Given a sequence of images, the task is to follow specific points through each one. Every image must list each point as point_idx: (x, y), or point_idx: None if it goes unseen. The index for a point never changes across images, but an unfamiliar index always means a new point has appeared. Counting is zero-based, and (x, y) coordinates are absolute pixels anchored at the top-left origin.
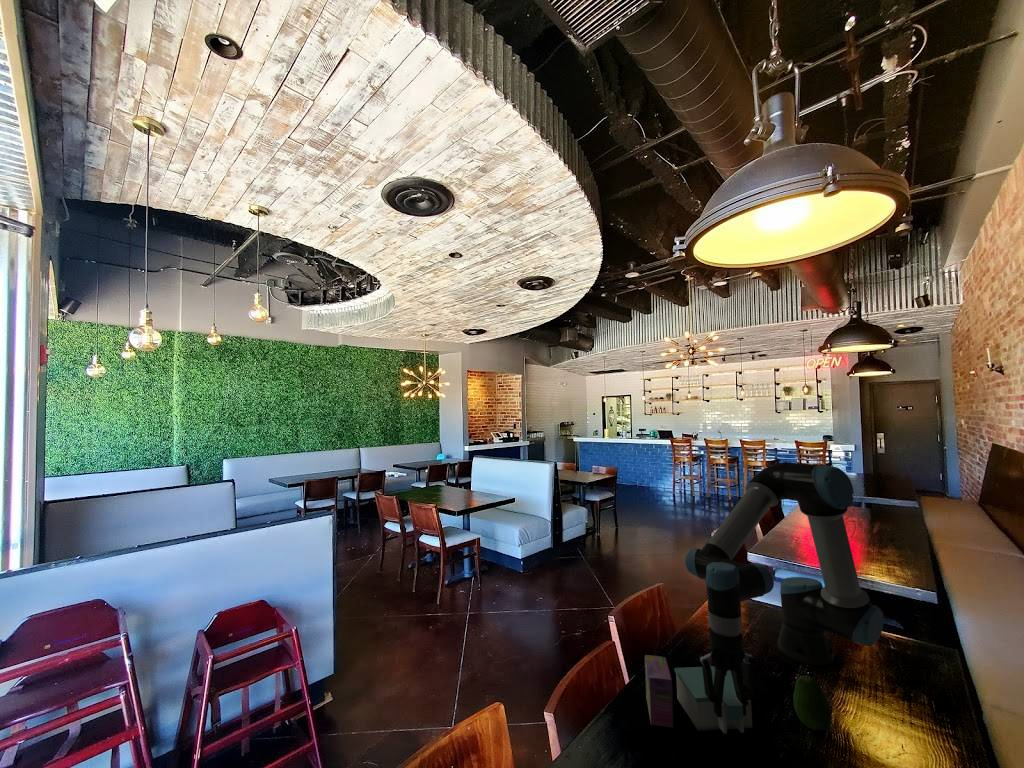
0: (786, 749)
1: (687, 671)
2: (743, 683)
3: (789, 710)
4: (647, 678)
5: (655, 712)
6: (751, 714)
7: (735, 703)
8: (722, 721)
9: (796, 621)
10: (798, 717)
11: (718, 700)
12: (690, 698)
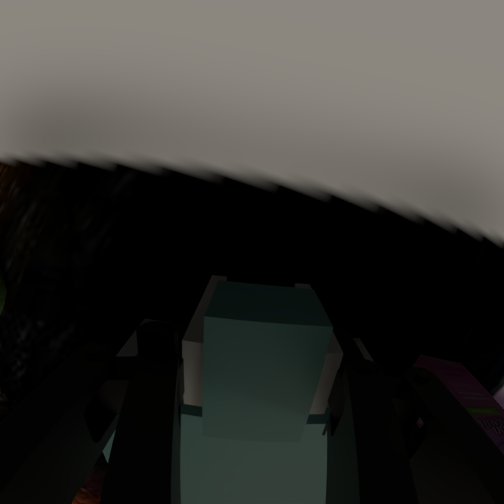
0: (91, 204)
1: None
2: (96, 453)
3: (21, 342)
4: None
5: (472, 380)
6: (126, 343)
7: (242, 349)
8: None
9: None
10: (3, 298)
11: (379, 375)
12: None
